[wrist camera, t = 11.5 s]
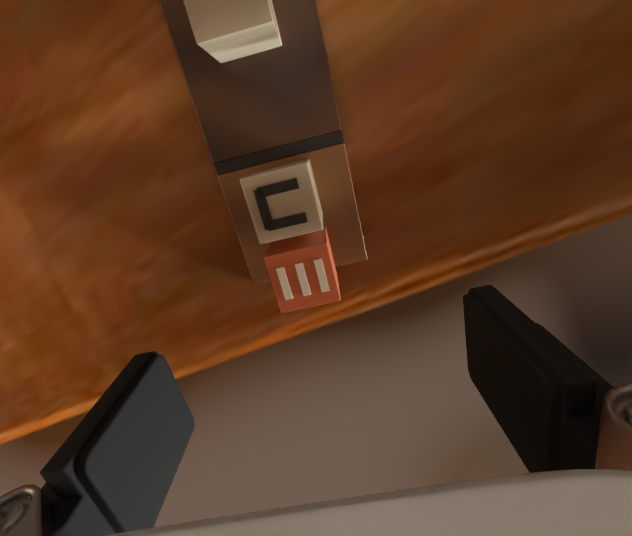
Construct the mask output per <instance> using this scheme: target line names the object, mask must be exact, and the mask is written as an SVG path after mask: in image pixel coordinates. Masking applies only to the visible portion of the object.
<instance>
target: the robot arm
mask: <svg viewBox="0 0 632 536" xmlns="http://www.w3.org/2000/svg"><path fill="white" fill-rule="evenodd" d="M463 304H464V318H465V333H466V346H467V360H468V371H469V374H470V377H471V380H472V381H473V383H474V384H475V386H476V388H477V389H478V391H479V392H480V394H481V396H482V397H483V399H484V401H485V402H486V404H487V405H488V407H489V408H490V410H491V412H492V413H493V415H494V417H495V418H496V420H497V421H498V423H499V424H500V426H501V428H502V429H503V431H504V433H505V434H506V436H507V437H508V439H509V441H510V442H511V444H512V445H513V446H514V449H515V450H516V452H517V453H518V455H519V456H520V458H521V459H522V461H523V463H524V464H525V466H526V468H527V469H528V471H529V472H530V473H526V474H517V475H510V476H502V477H494V478H486V479H478V480H471V481H462V482H454V483H447V484H440V485H434V486H426V487H420V488H413V489H406V490H399V491H393V492H385V493H378V494H371V495H365V496H357V497H351V498H344V499H337V500H330V501H324V502H317V503H310V504H304V505H298V506H291V507H284V508H277V509H271V510H264V511H257V512H251V513H244V514H238V515H231V516H225V517H218V518H212V519H205V520H199V521H192V522H186V523H180V524H174V525H167V526H160V527H154V525H155V522H156V520H157V517H158V515H159V512H160V510H161V507H162V505H163V503H164V500H165V498H166V495H167V493H168V490H169V488H170V485H171V483H172V481H173V478H174V476H175V473H176V471H177V469H178V466H179V464H180V461H181V459H182V456H183V454H184V451H185V449H186V447H187V444H188V442H189V439H190V437H191V435H192V432H193V429H194V418H193V415H192V413H191V411H190V409H189V407H188V405H187V403H186V401H185V399H184V397H183V394H182V392H181V390H180V388H179V386H178V384H177V382H176V380H175V378H174V376H173V373H172V371H171V369H170V367H169V365H168V363H167V361H166V359H165V357H164V356H163V355H159V353H157V352H155V351H152V352H147V353H142V354H138V355H135V356H134V357H133V358H132V359H131V361H130V362H129V363H128V364H127V366H126V367H125V368H124V369H123V370H122V372H121V373H120V374H119V375H118V377H117V378H116V379H115V380H114V382H113V383H112V384H111V385H110V387H109V388H108V389H107V390H106V391H105V393H104V394H103V395H102V396H101V398H100V399H99V400H98V401H97V403H96V404H95V405H94V406H93V407H92V409H91V410H90V411H89V412H88V414H87V415H86V416H85V417H84V419H83V420H82V421H81V422H80V424H79V425H78V426H77V427H76V428H75V430H74V431H73V432H72V434H71V435H70V436H69V437H68V438H67V440H66V441H65V442H64V443H63V444H62V446H61V447H60V448H59V449H58V451H57V452H56V453H55V454H54V456H53V457H52V458H51V459H50V460H49V462H48V463H47V464H46V465H45V467H44V468H43V469H42V470H41V472H40V474H41V475H42V477H43V478H44V479H45V481H46V483H45V485H44V486H43V487H42V488H41V489H40V488H39V487H38V486H36V485H24V486H22V487H19V488H16V489H14V490H12V491H10V492H8V493H6V494H4V495H3V496H2V497H0V536H632V385H620V386H616V387H612V386H611V385H610V384H609V383H608V382H607V381H605V380H604V379H603V378H602V377H601V376H600V375H598V374H597V373H596V372H595V371H594V370H593V369H591V368H590V367H589V366H588V365H587V364H586V363H585V362H583V361H582V360H581V359H580V358H579V357H578V356H576V355H575V354H574V353H573V352H572V351H571V350H569V349H568V348H567V347H566V346H565V345H564V344H562V343H561V342H560V341H559V340H558V339H557V338H555V337H554V336H553V335H552V334H551V333H550V332H548V331H547V330H546V329H545V328H544V327H543V326H541V325H539V324H537V323H534V322H533V321H532V320H531V319H530V318H529V317H528V316H526V315H525V314H524V313H523V312H522V311H521V310H520V309H518V308H517V307H516V306H515V305H514V304H513V303H512V302H510V301H509V300H508V299H507V298H506V297H505V296H504V295H502V294H501V293H500V292H499V291H498V290H497V289H496V288H494V287H493V286H492V285H486V286H481V287H476V288H471V289H470V290H469V293H468V294H466V295H464V297H463ZM153 527H154V528H153Z"/></svg>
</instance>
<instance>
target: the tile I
mask: <svg viewBox="0 0 632 536" xmlns="http://www.w3.org/2000/svg"><path fill="white" fill-rule="evenodd" d="M183 1H184V5H185V8H186V11H187V14H188V17H189V20H190V24H191V27H192V30H193V33H194V36H195V40H196V43H197V45H199V46H200V47H201V48H202V49H204V50H205V51H206V52H207V53H209V54H210V55H211V56H212V57H214V58H215V59H216V60H217V61H219V62H220V63H225V62H228V61H231V60H235V59H238V58H242V57H245V56H249V55H252V54H256V53H259V52H263V51H266V50H270V49H273V48H276V47H280V46H282V41H281V37H280V33H279V28H278V24H277V20H276V16H275V12H274V7H273V3H272V0H183Z"/></svg>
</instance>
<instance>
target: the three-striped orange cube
mask: <svg viewBox="0 0 632 536" xmlns="http://www.w3.org/2000/svg"><path fill="white" fill-rule="evenodd" d="M264 260H265V263H266V266H267V269H268V273H269V276H270V279H271V282H272V285H273V289H274V292H275V295H276V298H277V301H278V305H279V308H280V311H281V313H285V312H289V311H294V310H299V309H303V308H308V307H313V306H317V305H322V304H327V303H331V302H336V301H340V300H341V299H340V291H339V284H338V277H337V272H336V268H335V264H334V259H333V255H332V251H331V247H330V243H329V238H328V234H327V230H326V226H323V230H319V231H315V232H311V233H307V234H302V235H298V236H294V237H290V238H285V239H281V240H277V241H273V242H271V243H270V246H269V248H268V250H267V252H266V254H265V256H264Z"/></svg>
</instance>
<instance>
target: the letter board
mask: <svg viewBox="0 0 632 536" xmlns="http://www.w3.org/2000/svg"><path fill="white" fill-rule="evenodd" d="M159 3H160V6H161V9H162V12H163V15H164V18H165V21H166V24H167V27H168V30H169V33H170V36H171V39H172V42H173V45H174V48H175V51H176V54H177V57H178V60H179V63H180V66H181V69H182V72H183V75H184V78H185V81H186V84H187V87H188V90H189V93H190V96H191V99H192V102H193V105H194V108H195V111H196V114H197V117H198V120H199V123H200V126H201V129H202V132H203V135H204V138H205V141H206V144H207V147H208V150H209V153H210V156H211V159H212V162H213V163H214V164H213V165H214V168H215V171H216V174H217V175H218V179H219V182H220V185H221V188H222V191H223V194H224V197H225V200H226V203H227V206H228V209H229V212H230V215H231V218H232V221H233V224H234V227H235V230H236V233H237V236H238V239H239V242H240V245H241V248H242V251H243V254H244V257H245V260H246V263H247V266H248V269H249V272H250V275H251V278H252V281H253V284H254V285H256V284H260V283H264V282H269V281H271V279H270V276H269V273H268V269H267V266H266V263H265V260H264V256H265V254H266V252H267V250H268V248H269V246H270V243H271V242H268V243H264V244H260V243H259V240H258V237H257V234H256V231H255V228H254V224H253V221H252V218H251V215H250V212H249V208H248V205H247V202H246V199H245V196H244V192H243V189H242V186H241V183H240V179H241V178H243V177H245V176H247V175H249V174H251V173H254V172H257V171H261V170H265V169H269V168H273V167H276V166H280V165H284V164H288V163H292V162H296V161H300V160H304V159H310V163H311V167H312V171H313V175H314V180H315V184H316V188H317V192H318V196H319V201H320V205H321V209H322V213H323V226H326V230H327V234H328V238H329V243H330V247H331V251H332V255H333V259H334V264H335V267H336V266H340V265H345V264H349V263H354V262H358V261H363V260H367V254H366V249H365V244H364V239H363V234H362V229H361V224H360V219H359V214H358V209H357V204H356V199H355V194H354V189H353V184H352V179H351V174H350V169H349V164H348V159H347V154H346V149H345V144H344V139H343V134H342V130H341V124H340V119H339V114H338V109H337V104H336V99H335V94H334V89H333V84H332V79H331V74H330V69H329V64H328V59H327V54H326V49H325V44H324V39H323V35H322V30H321V25H320V20H319V15H318V10H317V5H316V0H272V3H273V7H274V12H275V16H276V20H277V24H278V28H279V33H280V37H281V41H282V46H280V47H276V48H273V49H270V50H266V51H263V52H259V53H256V54H252V55H249V56H245V57H242V58H238V59H235V60H231V61H228V62H225V63H220V62H219V61H217V60H216V59H215V58H214V57H212V56H211V55H210V54H209V53H207V52H206V51H205V50H204V49H202V48H201V47H200V46H199V45H197V43H196V40H195V36H194V33H193V30H192V27H191V24H190V20H189V17H188V14H187V11H186V8H185V5H184V1H183V0H159Z"/></svg>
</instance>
